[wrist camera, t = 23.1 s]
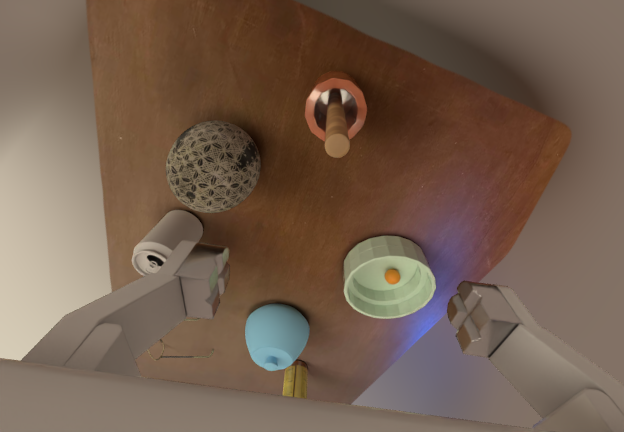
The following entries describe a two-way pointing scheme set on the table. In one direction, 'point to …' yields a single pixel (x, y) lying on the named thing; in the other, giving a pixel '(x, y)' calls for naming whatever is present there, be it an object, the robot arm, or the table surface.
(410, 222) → the table surface
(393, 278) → the bead
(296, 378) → the sauce bottle
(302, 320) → the sugar bowl
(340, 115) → the stirring stick
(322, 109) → the utensil pot
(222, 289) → the robot arm
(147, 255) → the can
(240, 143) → the decorative egg
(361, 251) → the bowl
